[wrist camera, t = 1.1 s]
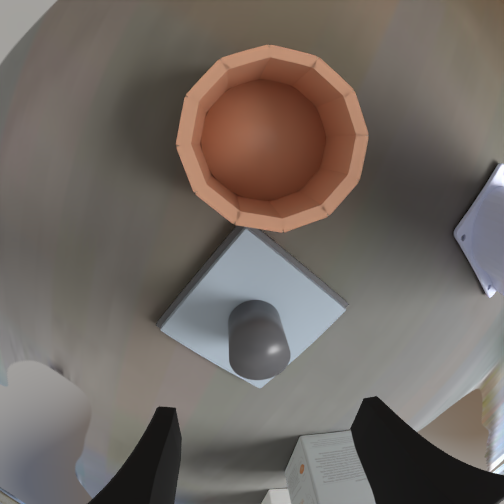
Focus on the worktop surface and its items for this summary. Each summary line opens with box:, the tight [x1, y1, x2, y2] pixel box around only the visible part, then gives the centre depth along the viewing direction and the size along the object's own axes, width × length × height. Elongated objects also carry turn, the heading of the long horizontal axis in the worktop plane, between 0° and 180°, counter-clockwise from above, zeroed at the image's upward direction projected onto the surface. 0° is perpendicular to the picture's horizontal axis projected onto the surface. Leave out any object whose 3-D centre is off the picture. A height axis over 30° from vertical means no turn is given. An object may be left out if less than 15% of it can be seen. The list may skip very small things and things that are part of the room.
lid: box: [160, 227, 346, 388], centre depth 17 cm, size 8×8×4 cm
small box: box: [285, 430, 376, 504], centre depth 20 cm, size 8×6×13 cm
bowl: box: [176, 45, 369, 233], centre depth 13 cm, size 8×8×4 cm
